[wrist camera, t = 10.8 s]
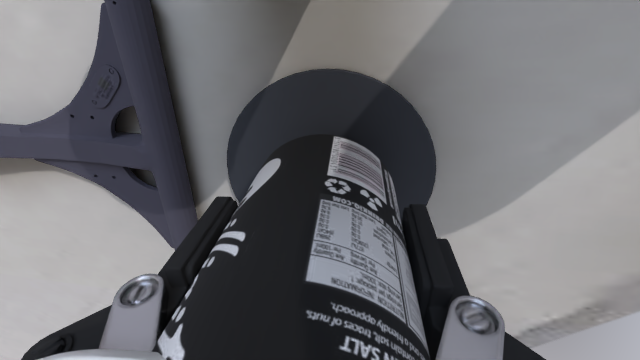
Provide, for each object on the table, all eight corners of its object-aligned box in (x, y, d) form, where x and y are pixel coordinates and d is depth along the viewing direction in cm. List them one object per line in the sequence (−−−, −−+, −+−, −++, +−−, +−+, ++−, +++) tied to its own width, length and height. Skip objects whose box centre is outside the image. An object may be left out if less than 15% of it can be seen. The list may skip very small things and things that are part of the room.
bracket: (-149, -19, 14) (-256, -25, 11) (155, -9, 13) (107, -13, 10) (8, 224, 21) (-37, 253, 19) (210, 245, 20) (189, 278, 17)
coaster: (210, 69, 14) (206, 71, 14) (454, 67, 13) (456, 68, 12) (245, 246, 19) (243, 250, 19) (418, 256, 18) (419, 260, 18)
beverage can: (266, 234, 17) (121, 596, 6) (256, 123, 13) (-73, 499, 3) (383, 245, 16) (429, 657, 6) (403, 131, 13) (586, 618, 3)
